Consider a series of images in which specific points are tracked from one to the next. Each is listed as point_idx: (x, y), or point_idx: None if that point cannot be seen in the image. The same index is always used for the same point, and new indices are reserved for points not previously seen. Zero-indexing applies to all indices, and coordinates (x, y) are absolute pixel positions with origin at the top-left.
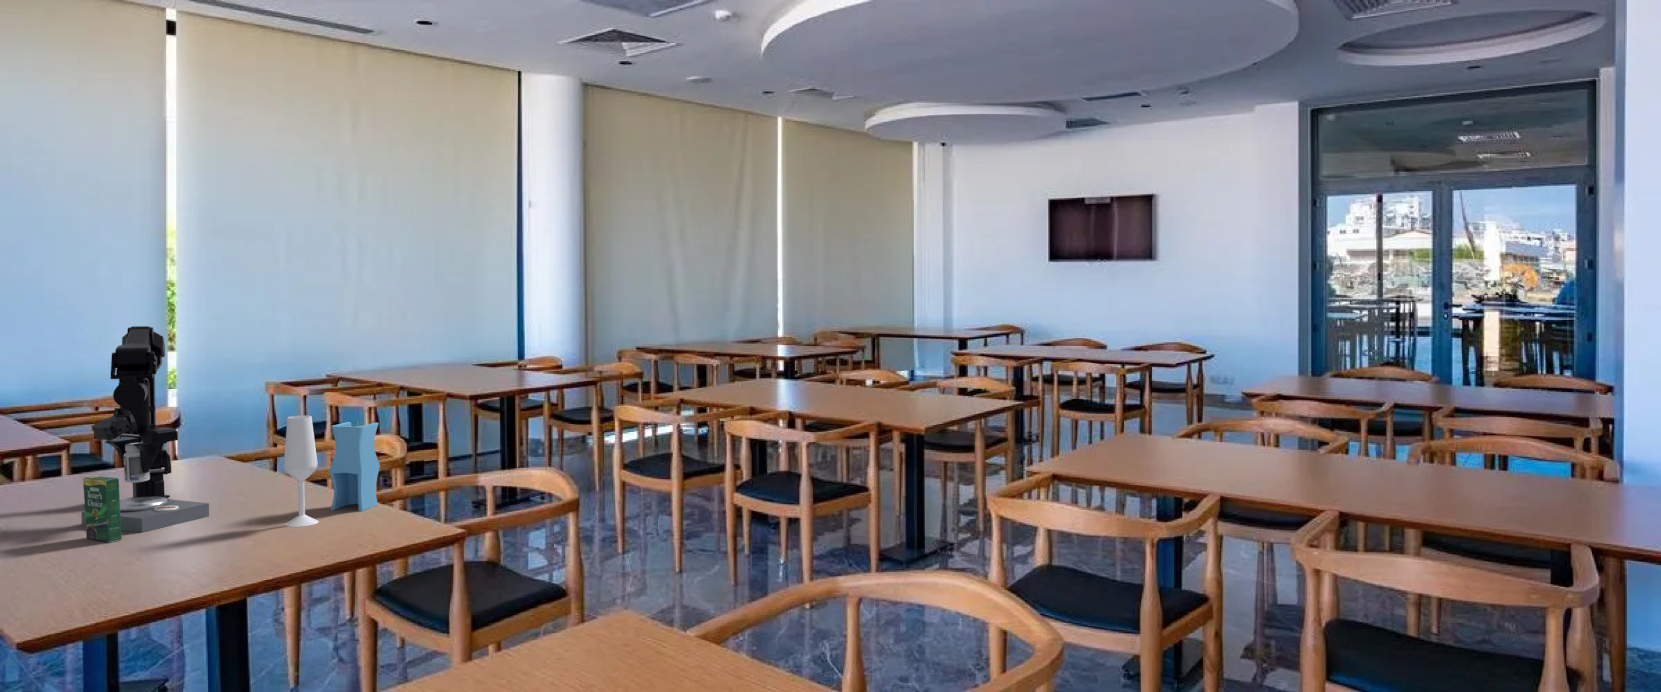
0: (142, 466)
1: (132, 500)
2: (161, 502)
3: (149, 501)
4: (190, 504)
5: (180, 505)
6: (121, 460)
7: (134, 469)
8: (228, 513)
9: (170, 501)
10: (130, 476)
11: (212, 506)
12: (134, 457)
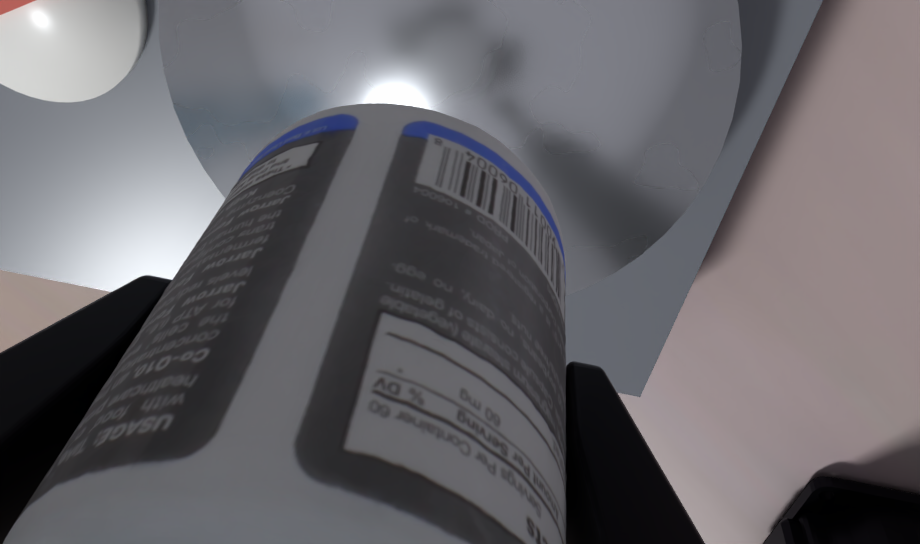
0: (88, 338)
1: (560, 147)
2: (174, 105)
3: None
4: (64, 211)
5: (102, 167)
6: (694, 528)
7: (212, 247)
8: (5, 281)
9: None
10: (324, 147)
11: None
12: (75, 474)
